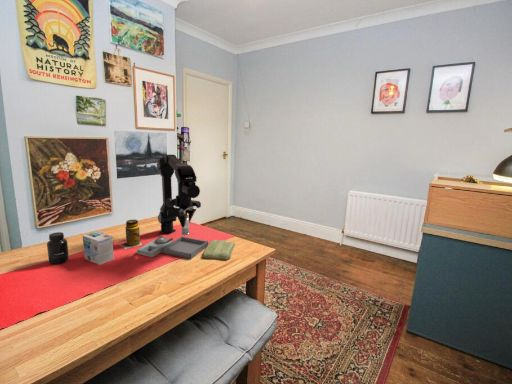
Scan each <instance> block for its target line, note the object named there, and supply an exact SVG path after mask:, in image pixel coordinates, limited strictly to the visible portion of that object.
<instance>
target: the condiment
mask: <svg viewBox="0 0 512 384" xmlns="http://www.w3.org/2000/svg"><path fill="white" fill-rule="evenodd" d="M140 233H141V232H140V225H139V221H138V219H129V220H126V221H125V237H126V238H125V240H126V242H122V243H121V242H120V243H119V245H120V246H121V247H122V248H123V249H124V250H126V249H131V248H134V247H138V246H144V244H143V243H142V242H141V236H140Z"/></svg>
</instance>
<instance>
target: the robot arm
mask: <svg viewBox="0 0 512 384" xmlns="http://www.w3.org/2000/svg"><path fill="white" fill-rule="evenodd" d="M156 168H157V171H158V174H159V175H160V176H161V187H162V205H161V207H160V208H159V214H158V216H157V221H158V223H159V224H160V231H158V233H160V234H165V235H170V234H172V233H174V232H176V230H177V229H174V222H176V221H177V219H178V220H179V224H180V225H181V226H180V227H181V228H182V227H184V226H185V222H186V219H187V215H188V214H186V213H185V212H187V213H189V224H191V221H192V219H193V217H194V214H195V212H196V211H197V209H199V208H202V206H201V204H202V203H201V201H199V200H194V199H195V198H198V197H199V196H200V193H201V189H200V187H199V186H198V185H197V184H196V183H197V179H198V177H197V175H196V173H195V171H194V168H193V166H191V165H190V164H187V163H186V164H185V163H183V162H182V161H181V160H180V159H179V158H178V157H177V156H176V154H165V155H164V156H162V158H160V159H158V161H157V163H156ZM173 175H174V176H175V178H176V180H177V182H176V183H177V191H178V192H177V195H175V198H173V193H172V192H173V191H172V190H173V188H172V187H173V186H172V177H173ZM195 207H196V208H195Z"/></svg>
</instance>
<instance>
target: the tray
mask: <svg viewBox="0 0 512 384" xmlns="http://www.w3.org/2000/svg"><path fill="white" fill-rule="evenodd" d="M208 244H209V241H208V240H205V239H204V240H203V239H197V238H193V237H188V236H182V235H181V236H180V237H178V238H176V239H175V240H172V241H171V243H170V244H168V245H166V246H164V247H163V248H162V252H161V254H165V255H171V256H175V257H180V258H184V259H189V260H192V259H193V258H194V257H196V256H197V255H198V254H200V253H201V252H202V251H203V250H205V249H206V248H207V246H208Z"/></svg>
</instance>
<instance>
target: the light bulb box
mask: <svg viewBox="0 0 512 384" xmlns="http://www.w3.org/2000/svg"><path fill="white" fill-rule="evenodd" d="M82 241H83V242H82V243H83V245H82V246H83V250H84V251H83V252H84V259H85V260H88V261H89V262H91V263H94V264H95V265H99V266H101V265H103V264H104V263H107V262H110V261H112V260H114V259H115V255H114V243H113V235H111V234H107V233H104V232H101V231H98V230H96V231H93V232H90V233H87V234H83V235H82Z"/></svg>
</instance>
